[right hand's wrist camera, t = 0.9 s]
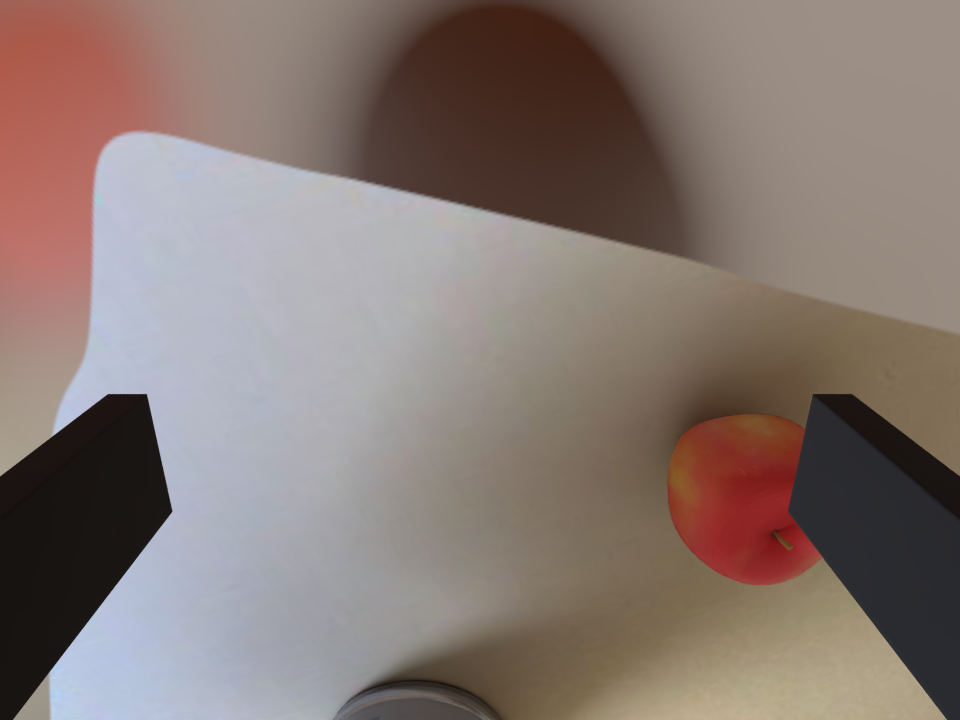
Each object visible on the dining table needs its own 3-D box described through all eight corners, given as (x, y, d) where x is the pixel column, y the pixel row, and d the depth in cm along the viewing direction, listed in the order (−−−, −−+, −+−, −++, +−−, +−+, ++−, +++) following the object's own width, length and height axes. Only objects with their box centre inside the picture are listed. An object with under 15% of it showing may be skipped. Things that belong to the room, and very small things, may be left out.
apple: (623, 486, 43) (661, 591, 34) (683, 364, 39) (744, 444, 30) (749, 523, 44) (821, 635, 35) (818, 407, 40) (918, 497, 31)
